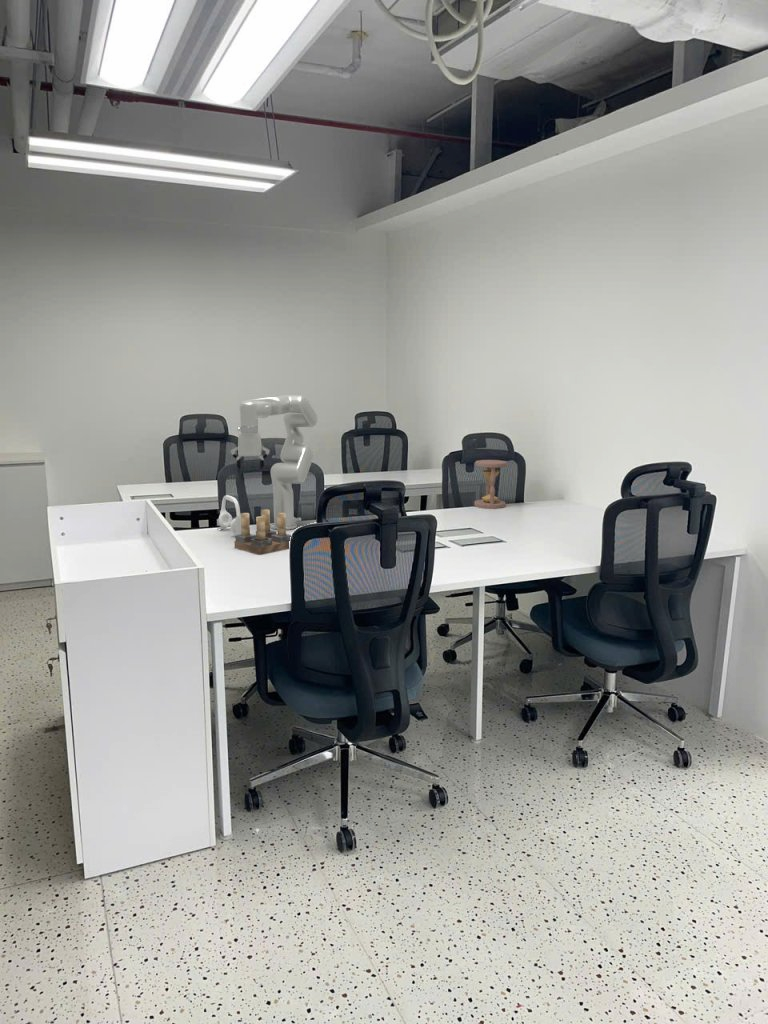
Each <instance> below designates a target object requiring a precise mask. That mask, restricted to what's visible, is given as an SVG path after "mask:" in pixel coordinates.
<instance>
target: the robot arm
mask: <svg viewBox="0 0 768 1024" xmlns="http://www.w3.org/2000/svg"><path fill="white" fill-rule="evenodd" d="M310 402H311V401H309V400H308V399H307V398H306V397H305V396H304V395H301V394H297V395H296V394H283V395H277V396H271V397H270V396H269V397H263V398H262V397H261V398H254V399H253V398H252V399H246V400H243V401H242V402H241V403H240V405H239V414H240V415H239V417H240V427H237V431H238V432H240V433H238V439H237V442H238V443H237V446H236V447H234V448H233V449H231V450H230V454H231V455H232V457H233V458H234V459H235V460H236V467H237V468H238V470H241V469H242V459H241V458H242V457H258V458H259V459H260V461H259V469H260V470H263V469H264V468H265V459H266V458H267V457H268V455H270V451H271V449H269V448H267V447H264V446H262V445H263V444H262V438H261V434H260V432H259V419H264V418H265V419H266V418H268V417H269V416H280V415H283V422H284V426H285V429H286V438H285V440H284V443H283V446H282V448H281V452H280V456H279V457H280V460H281V462H277V463H274V464H273V465H272V466H271V468H270V477H271V481H272V482H271V483H272V492H273V497H272V498H273V524H270V529H271V530H275V531H278V530H277V513H286V531H289V530H293V529H297V528H298V524H297V522H302V517H295V516H294V515H295V514H294V513H295V512H294V511H295V510H294V490H293V488H292V485H291V484H294V485H295V484H296V485H298V484H303V483H304V482H305V480H306V479H307V477H308V474H309V471H310V467H311V465H312V462H313V459H314V458H313V457H314V453H313V452H314V451H313V449H312V447H311V446H309V445H307V444H303V443H304V441H305V438H304V435H303V433H302V432H301V430H300V428H313V427H315V426H317V423H318V415H317V412H316V411H315V409H314V407H313V406H312V404H311V403H310ZM236 451H237V454H238V455H237V454H236ZM263 451H264V452H265V454H264V455H263V454H262V453H263Z"/></svg>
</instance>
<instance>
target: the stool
mask: <svg viewBox="0 0 768 1024" xmlns="http://www.w3.org/2000/svg"><path fill="white" fill-rule="evenodd" d="M260 511H261V516H263V517H265V538H266V540H264V541H257V530H256V531H255V534H253V533H251V532H250V531H251V530H250V529H251V528H250V524H251V522H250V513H249V512H242V513H241V512H240V514H241V534H240V535H234V536H235V537H234V538H235V540H234V542H233V543H234V549H237V550H241V551H245V552H248V553H252V554H255V555H259V556H261V555H266V554H270V553H275V552H280V551H284V550H287V549H290V548H289V541H290V537H291V535H292V534H288V533H287V530H286V513H277V530H274V529H271V515H270V513H271V510H270V509H261V510H260Z"/></svg>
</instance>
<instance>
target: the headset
mask: <svg viewBox="0 0 768 1024" xmlns="http://www.w3.org/2000/svg"><path fill="white" fill-rule="evenodd" d="M227 501H229V502H232V503H234V507H235V512H236V517H235V518H233V517H232V516H233V515H231V514H230V513H229V512H228V511H227V510H226V503H227ZM219 513H220V514H219V516H218V524H219V528H217V529H216V531H217V530H219V529H223V530H225V529H227V528H229V529H230V530H231V532H232V533H233V534H235V535H240V534H241V509H240V504H239V501H238V500H237V498H235V497H234V496H231V495H228V494H226V495H224V496H223V498H222V500H221V510H219ZM219 531H220V530H219ZM235 535H234V536H235Z"/></svg>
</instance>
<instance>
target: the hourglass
mask: <svg viewBox="0 0 768 1024" xmlns="http://www.w3.org/2000/svg"><path fill="white" fill-rule="evenodd" d="M474 465H475V467H479V468H486V469H484V470H482V474H483V476H484V477H485V479H486V485H485V496H482V497H481V499H477V500H474V501H473V502H474V504H473V505H474V507H476V508H479V509H489V510H490V509H493V510H494V509H502V508H505V507H506V501H504V500H500V499H499V497H497V496H495V495H496V489H495V483H496V479H497V476H498V475H499V474H500V470H496V468H505V467H507V466H508V462H507V460H506V461H505V460H499V459H480V460H476V461H475V463H474Z"/></svg>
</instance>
